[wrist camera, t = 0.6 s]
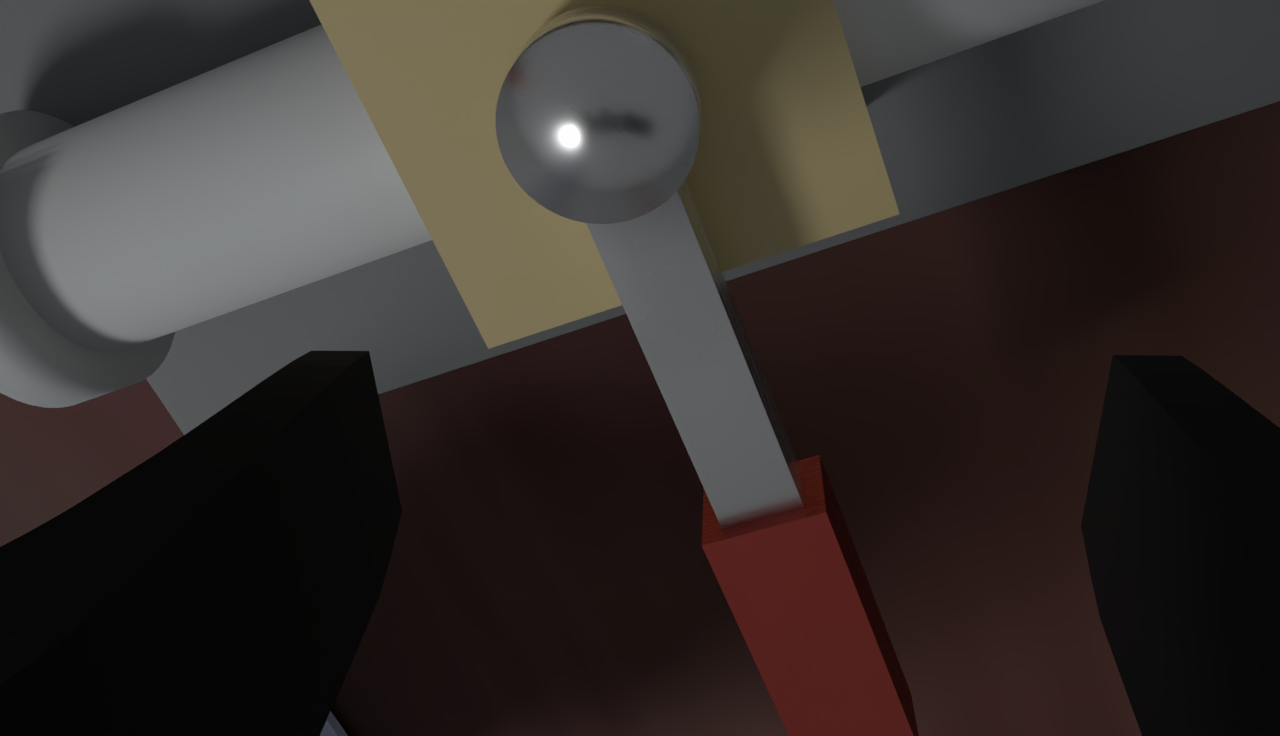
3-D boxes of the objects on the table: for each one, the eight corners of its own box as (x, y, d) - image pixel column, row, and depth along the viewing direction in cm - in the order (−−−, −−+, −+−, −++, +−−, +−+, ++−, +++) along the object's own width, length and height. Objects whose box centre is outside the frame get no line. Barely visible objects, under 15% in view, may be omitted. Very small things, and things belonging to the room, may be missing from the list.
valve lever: (479, 41, 15) (457, 74, 13) (661, -30, 14) (654, -3, 13) (789, 721, 20) (792, 788, 19) (928, 689, 19) (942, 756, 18)
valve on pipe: (215, 426, 25) (89, 606, 20) (-91, -38, 20) (-348, 47, 15) (1403, 33, 19) (1631, 149, 14) (1337, -715, 15) (1629, -911, 10)
